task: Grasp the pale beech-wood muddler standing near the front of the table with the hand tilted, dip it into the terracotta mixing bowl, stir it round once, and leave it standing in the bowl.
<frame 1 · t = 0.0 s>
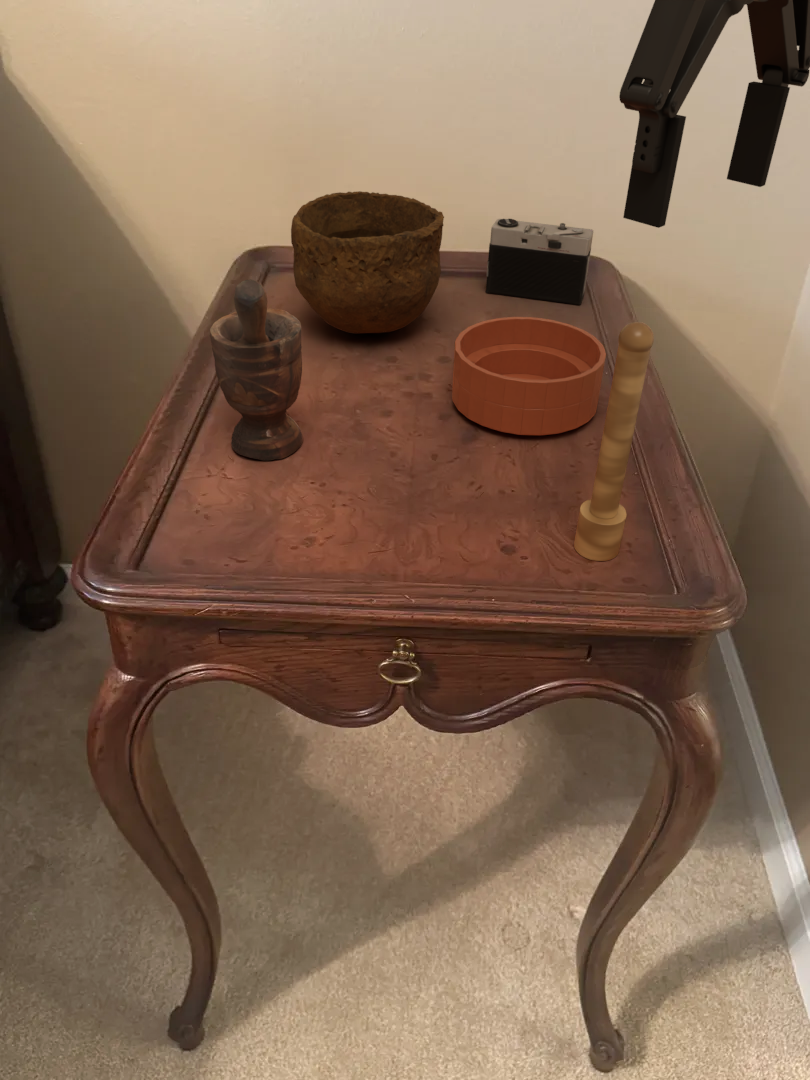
hand: (697, 201, 62), 30 cm above the table, tool pointing down, fingers open, 13 cm apart
mortar and pestle: (271, 453, 91), on the table
muddler: (596, 547, 79), on the table
bowl: (368, 329, 116), on the table
mixing bowl: (523, 404, 100), on the table
camera: (538, 291, 127), on the table
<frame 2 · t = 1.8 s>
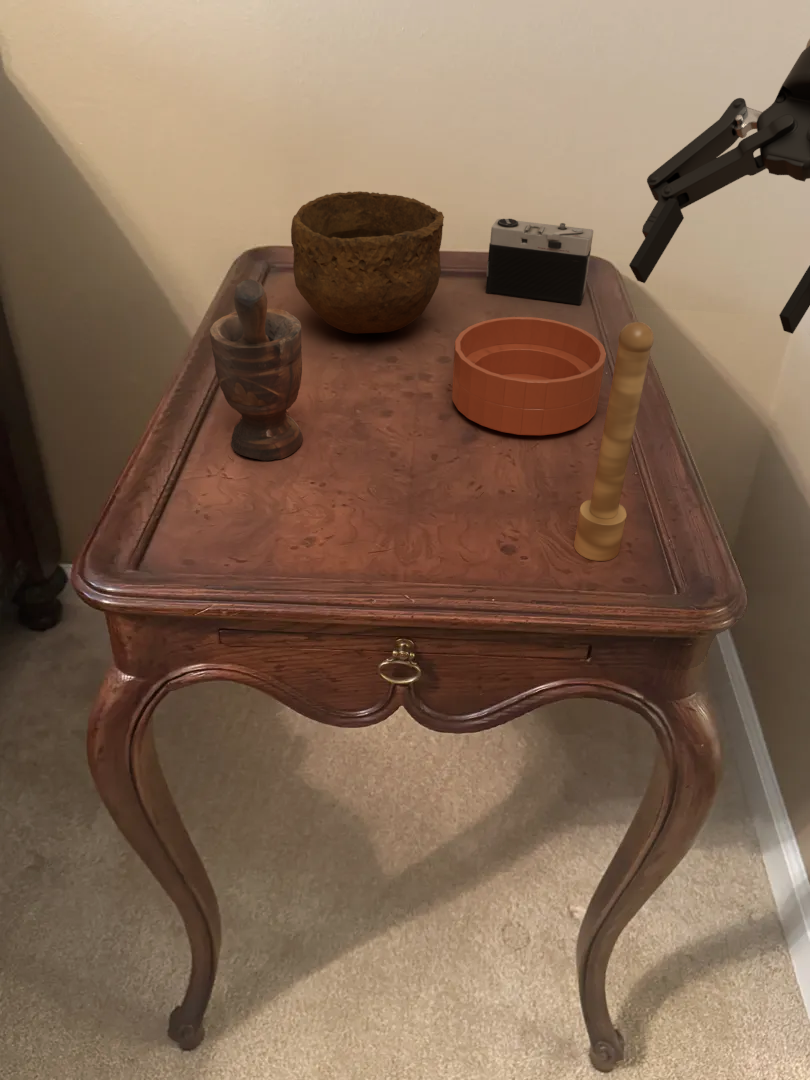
hand: (707, 298, 72), 20 cm above the table, tool tilted 45°, fingers open, 13 cm apart
nothing on the table moved.
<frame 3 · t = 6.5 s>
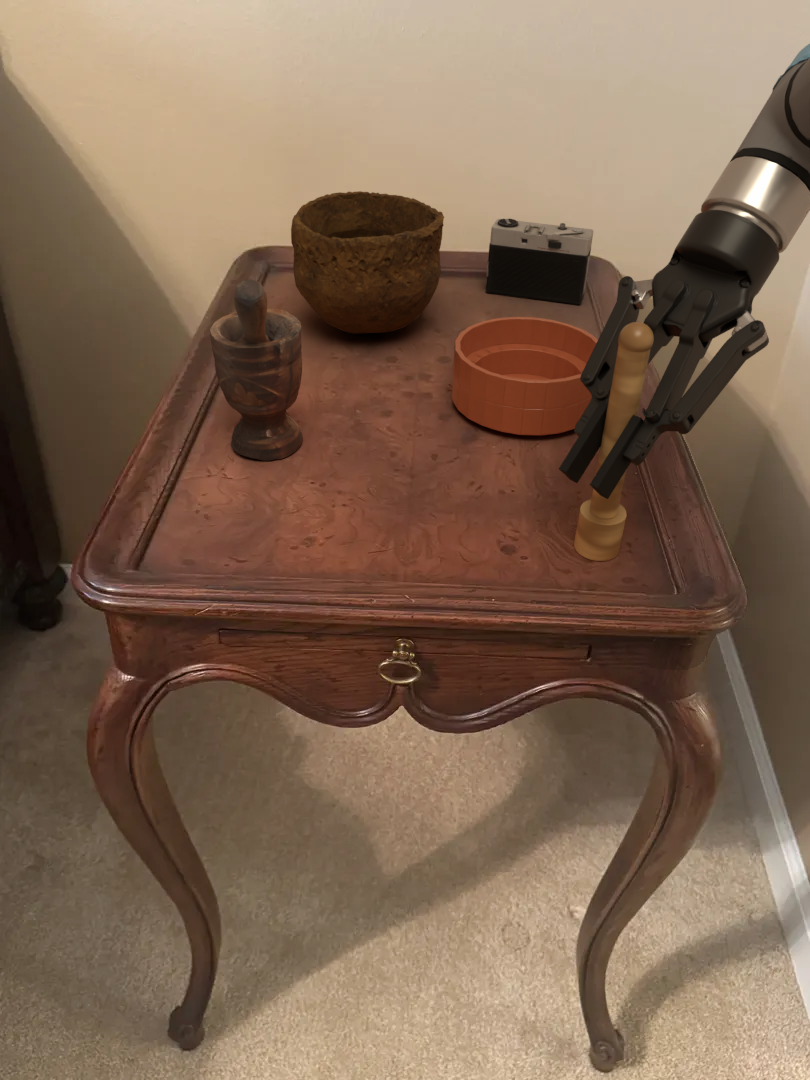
hand: (583, 483, 72), 9 cm above the table, tool tilted 45°, fingers closed on muddler, 2 cm apart
muddler: (596, 547, 79), on the table, touching gripper
everything else where it was.
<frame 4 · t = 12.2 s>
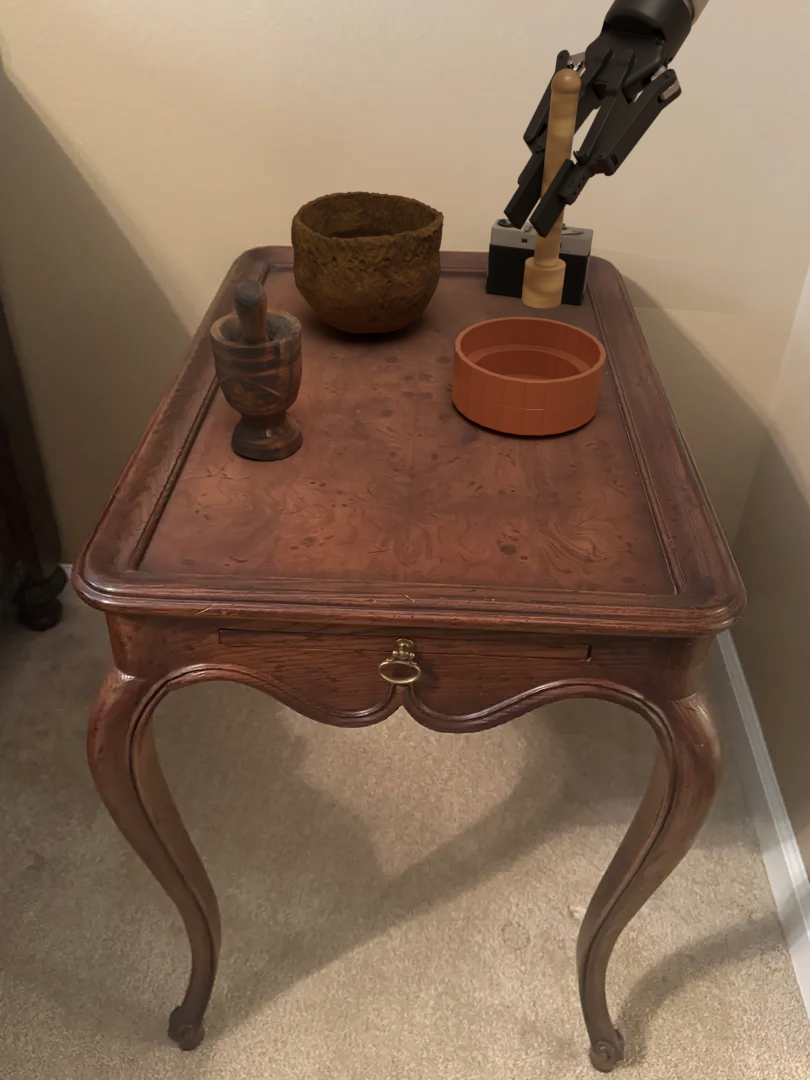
hand: (524, 224, 83), 22 cm above the table, tool tilted 45°, fingers closed on muddler, 2 cm apart
muddler: (541, 301, 90), point 13 cm above the table, touching gripper
everything else where it was.
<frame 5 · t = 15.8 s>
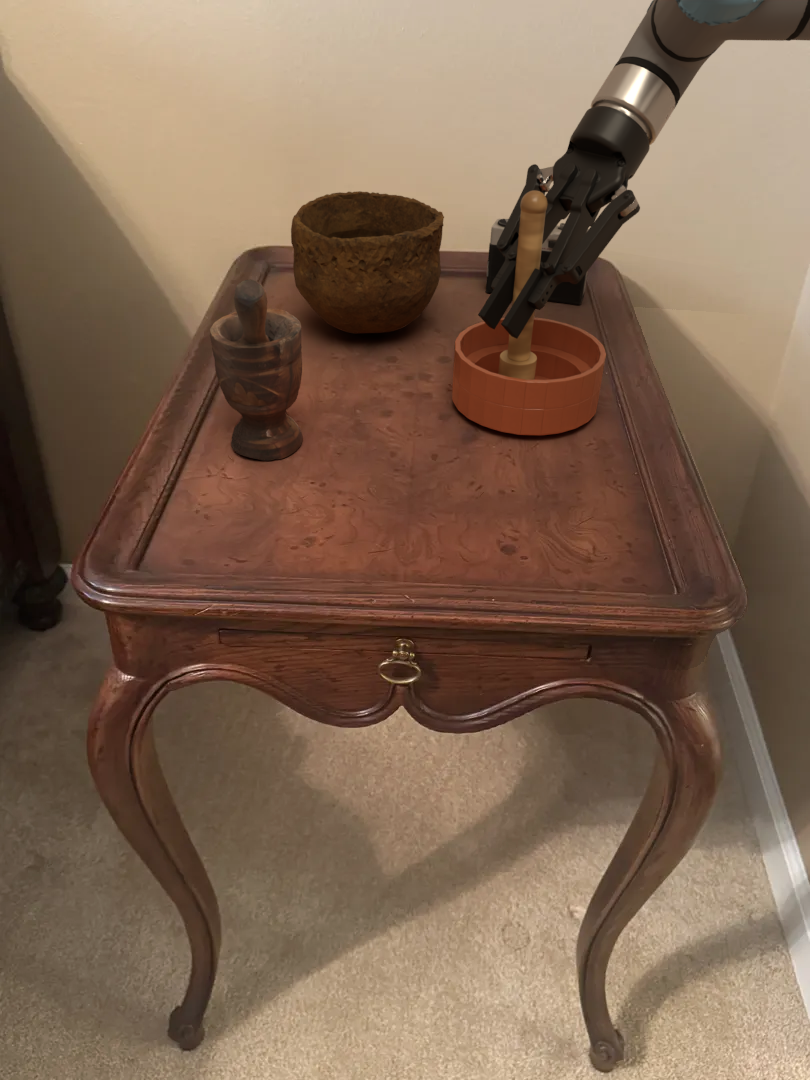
hand: (497, 326, 91), 11 cm above the table, tool tilted 45°, fingers closed on muddler, 2 cm apart
muddler: (515, 389, 98), point 2 cm above the table, touching gripper
everything else where it was.
when the fingers open (9 cm above the table, at t = 18.4 s): muddler stays where it is, resting on mixing bowl.
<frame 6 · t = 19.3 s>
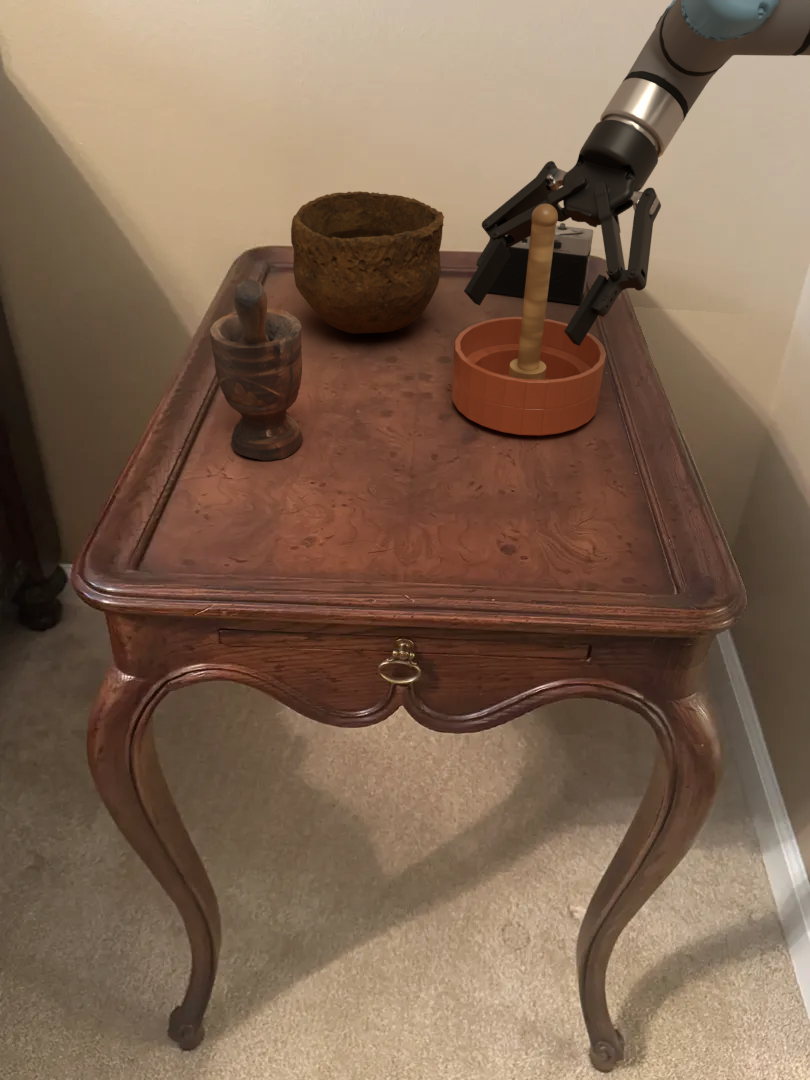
hand: (519, 318, 92), 11 cm above the table, tool tilted 45°, fingers open, 13 cm apart
muddler: (524, 398, 99), point 1 cm above the table, touching mixing bowl
everything else where it was.
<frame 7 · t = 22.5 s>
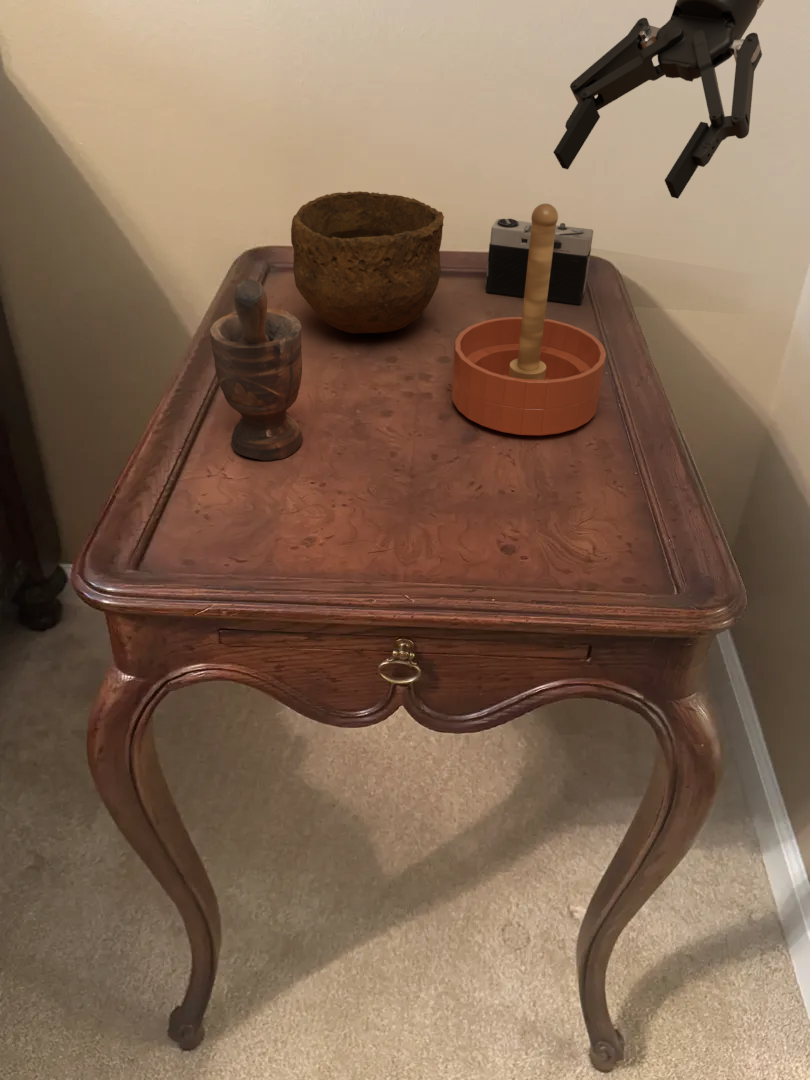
hand: (613, 175, 90), 24 cm above the table, tool tilted 45°, fingers open, 13 cm apart
nothing on the table moved.
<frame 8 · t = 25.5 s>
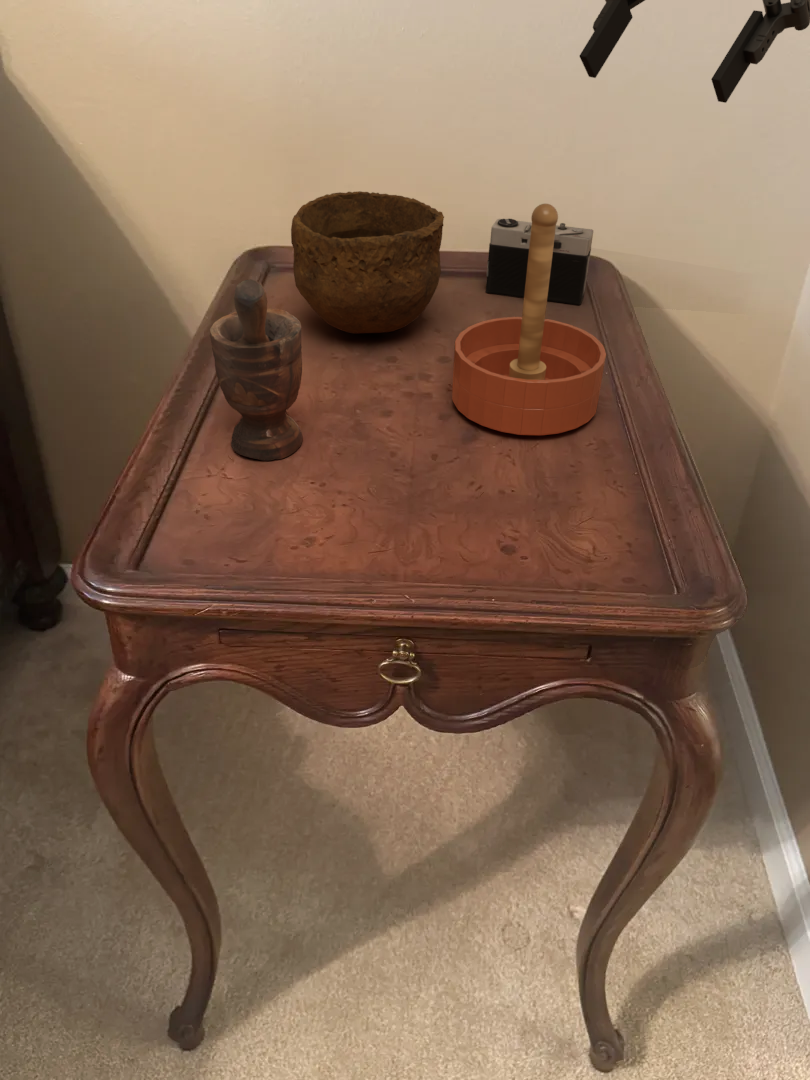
hand: (649, 79, 78), 34 cm above the table, tool tilted 45°, fingers open, 13 cm apart
nothing on the table moved.
at the end: muddler inside the target area in the mixing bowl (0.1 cm from its centre), point 0.8 cm above the mixing bowl's base; the gripper is holding nothing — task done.
